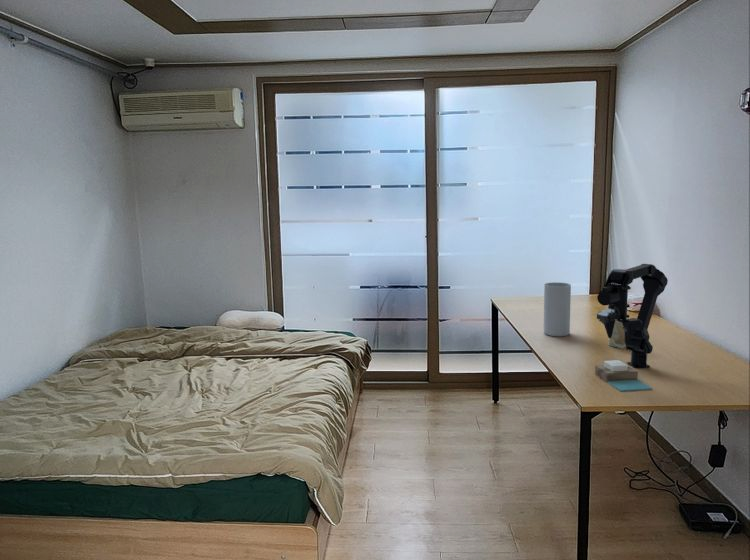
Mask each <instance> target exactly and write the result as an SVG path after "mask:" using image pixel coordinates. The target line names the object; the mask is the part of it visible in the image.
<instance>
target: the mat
mask: <svg viewBox="0 0 750 560" xmlns="http://www.w3.org/2000/svg"><path fill="white" fill-rule="evenodd" d="M607 383H608V384H609V385H611V386H612V387H613V388H615V389H616V390H617V391H619V392H632V391H634V392H635V391H647V390H648V391H651V390H653V388H652V387H651V386H649V385H648V384H646V383H644V382H643V381H641V380H640V379H637V380H623V381H608V382H607Z"/></svg>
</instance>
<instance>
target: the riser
mask: <svg viewBox="0 0 750 560" xmlns="http://www.w3.org/2000/svg"><path fill="white" fill-rule="evenodd" d="M594 374H595V376H597V377H599V378H600V379H602V380H603V381H605V382H606V383H608V381H623V380H639V379H638V378H639V377H638V376H639V375H638V374H639V371H638V370H636V369H634V368H633V367H632V366H631V367H630V365H628V370H627V371H611V370H610V369H608V368H606V367H605V366H604V364H600V365H594Z"/></svg>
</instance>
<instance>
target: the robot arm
mask: <svg viewBox="0 0 750 560" xmlns="http://www.w3.org/2000/svg"><path fill="white" fill-rule="evenodd" d="M639 278H640V279H641V280H642V282H643V283H642V287H643V291H644V295H643V299H642V301H641V304H640V307H639V311H638V315H637V318H635V317H631V318H630V315H629V314H628V309H629V308H630V306H631V305H630V304H628V299H629V296H628V295H629V294H628V293H629V290H631V289H632V287H631V286H629V285H631V284H632V283H633V281H634V280H636V279H639ZM668 281H669V279H668V278H667V276H666V275H665V273H664V272H663V271H661V270H660V269H658V268H657V267H656V266H655V265H654V264H651V263H650V264H649V263H640V265H637V266H633V267H630V268H624V269H622V268H621V269H620V268H615V269H614V268H613V269H612V270H610V272H609V274H608V277H607V278H606V280H605V282H604V286H603V287H602V289H601V291H600V290H599V292H598V294H597V302H598V303H599V305H601V306H604V307H605V306H608V307H607V308H605V309H603V310H602V311H598V313H596V320H598V321H599V322H600V323H601V324H603V326H604V329H605V332H606V335H607V338H608V339H610V338H611V337H612V333H613V329H614V324H615V321H618V322H621V323H622V324H623V326H624V327H622V328H623V329H624V331H625V344H626V347H625V348H626V350H627V351H630V361H627V362H626V363H627V364H628V366H631V367H632V368H633V369H634V368H635V369H638V368H650V367H651V366H650V365H649V364H648V363H647V361H648V355H649V354H651V353H652V352H653V348H654V347H653V345H652V343H651V342H650V334H649V331H648V328H649V326H650V322H651V319H652V316H653V312H654V310H655V306H656V303H657V299H658V297H659V296H660V295H661V294H662V293H663V292H664V291H665V289H666V286H667V285H668ZM627 364H626V365H627Z"/></svg>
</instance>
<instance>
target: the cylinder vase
mask: <svg viewBox="0 0 750 560" xmlns="http://www.w3.org/2000/svg"><path fill="white" fill-rule="evenodd" d="M543 288H544V289H543V290H544V291H543V292H544V293H543V333H544V334H545V335H546V336H550V337H558V338H559V337H567V336H569V334H571V333H570V332H571V297H572V295H571V294H572V293H571V290H572V285H571V284H570V283H568V282H567V283H566V282H554V281H553V282H545V283H544V287H543Z"/></svg>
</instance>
